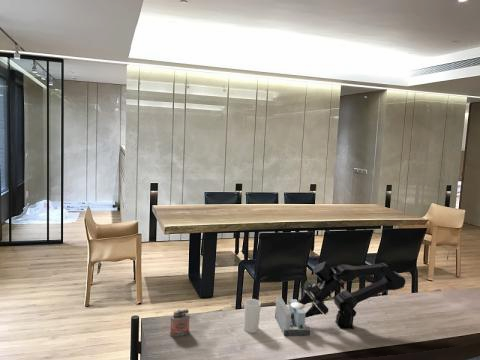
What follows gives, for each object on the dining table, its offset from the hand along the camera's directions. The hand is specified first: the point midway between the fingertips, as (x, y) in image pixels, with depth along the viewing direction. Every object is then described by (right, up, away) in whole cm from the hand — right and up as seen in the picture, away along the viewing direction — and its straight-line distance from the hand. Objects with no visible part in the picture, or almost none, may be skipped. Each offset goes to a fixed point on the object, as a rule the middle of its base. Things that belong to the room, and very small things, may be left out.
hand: (300, 311), depth 176 cm
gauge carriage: (-2, -6, 0) cm, 7 cm away
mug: (-22, -6, -3) cm, 23 cm away
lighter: (-51, -5, -12) cm, 53 cm away
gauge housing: (-5, -6, 0) cm, 8 cm away
